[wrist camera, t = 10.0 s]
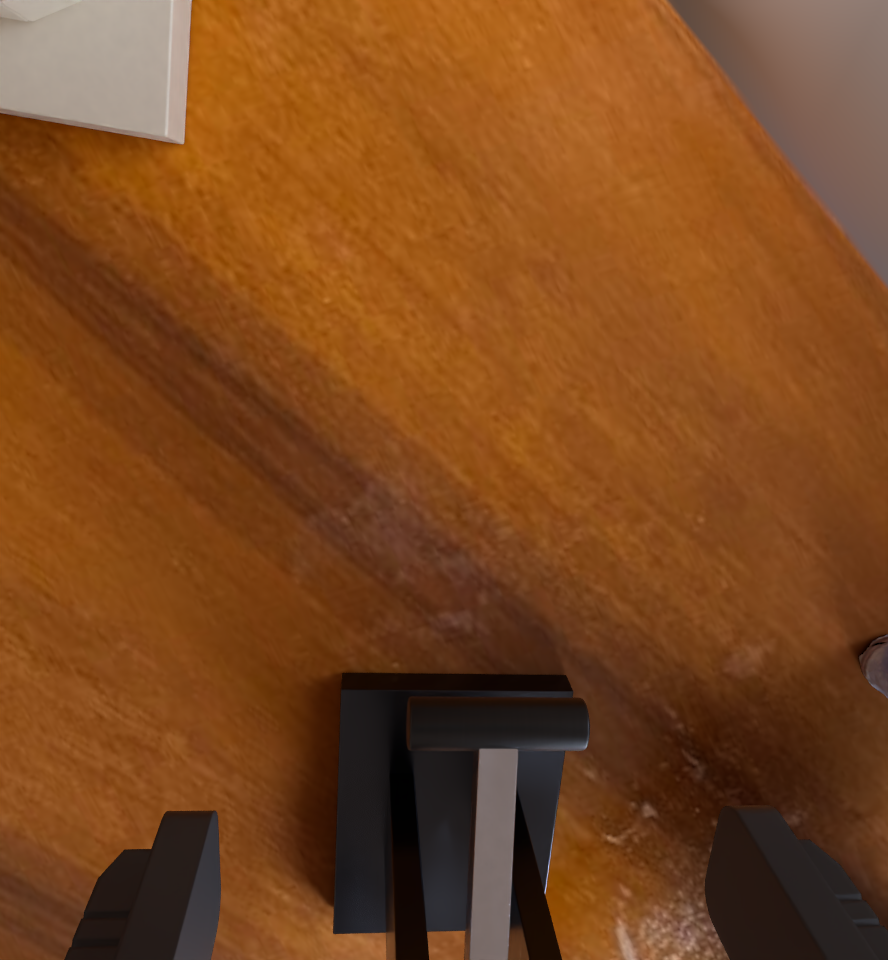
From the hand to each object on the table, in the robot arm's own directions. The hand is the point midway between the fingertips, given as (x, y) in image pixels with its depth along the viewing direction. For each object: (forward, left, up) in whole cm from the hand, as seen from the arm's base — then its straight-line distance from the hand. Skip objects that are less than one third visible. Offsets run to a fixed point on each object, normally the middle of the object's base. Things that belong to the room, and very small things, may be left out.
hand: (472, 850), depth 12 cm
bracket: (+9, +10, -17) cm, 22 cm away
